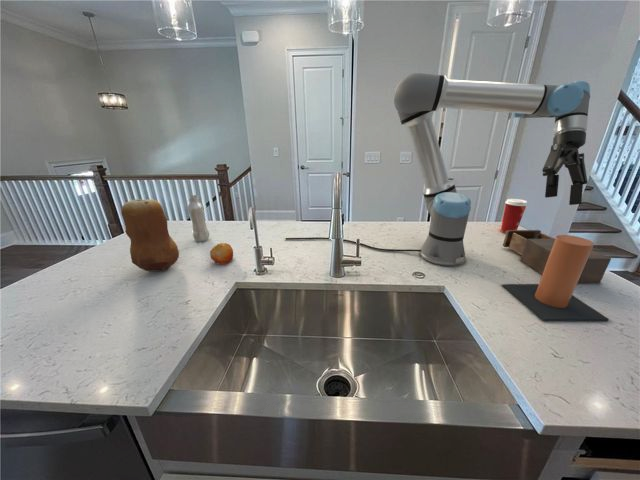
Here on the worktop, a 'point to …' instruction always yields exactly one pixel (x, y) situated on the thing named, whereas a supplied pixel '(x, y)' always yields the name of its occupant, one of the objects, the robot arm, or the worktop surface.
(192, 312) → the worktop surface
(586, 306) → the mat
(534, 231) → the drawer
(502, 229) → the coffee cup
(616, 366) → the worktop surface
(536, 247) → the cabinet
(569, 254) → the orange tall cylinder
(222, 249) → the fruit
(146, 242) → the butternut squash
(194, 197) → the plastic bottle
